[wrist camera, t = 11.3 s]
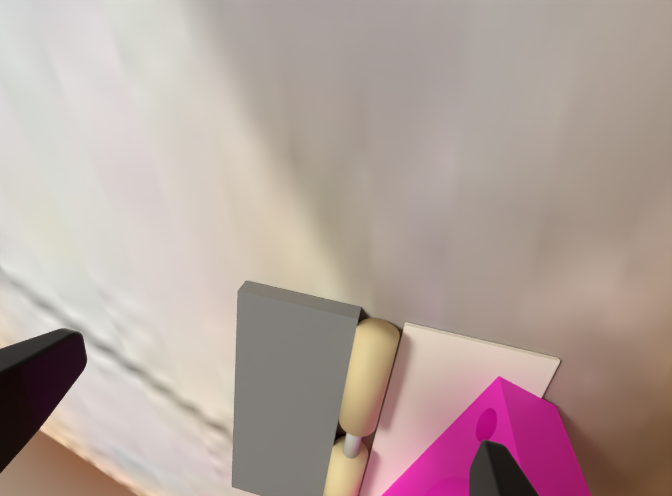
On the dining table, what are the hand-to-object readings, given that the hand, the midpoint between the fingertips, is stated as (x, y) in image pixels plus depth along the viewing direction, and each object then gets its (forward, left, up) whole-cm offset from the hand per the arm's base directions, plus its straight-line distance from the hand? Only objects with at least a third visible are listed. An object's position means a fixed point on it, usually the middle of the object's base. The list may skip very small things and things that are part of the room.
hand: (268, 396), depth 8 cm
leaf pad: (-8, +15, -13) cm, 21 cm away
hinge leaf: (+1, +15, -13) cm, 20 cm away
